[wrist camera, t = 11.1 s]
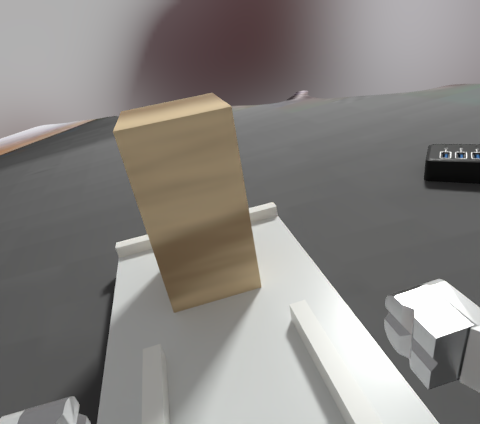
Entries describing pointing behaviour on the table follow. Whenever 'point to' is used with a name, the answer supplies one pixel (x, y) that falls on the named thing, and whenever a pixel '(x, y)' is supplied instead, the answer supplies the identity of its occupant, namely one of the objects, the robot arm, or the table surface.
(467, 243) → the table surface
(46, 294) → the table surface
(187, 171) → the block
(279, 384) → the channel
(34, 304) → the table surface
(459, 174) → the multiport hub
